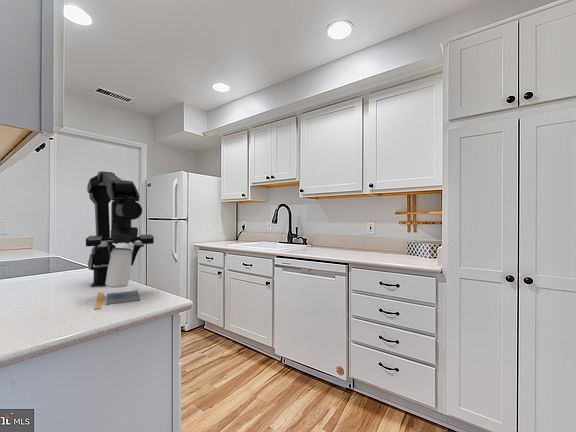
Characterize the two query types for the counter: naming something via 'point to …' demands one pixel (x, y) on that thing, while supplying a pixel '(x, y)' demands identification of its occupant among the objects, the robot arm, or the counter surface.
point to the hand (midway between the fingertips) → (121, 266)
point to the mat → (122, 297)
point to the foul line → (98, 301)
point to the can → (119, 267)
